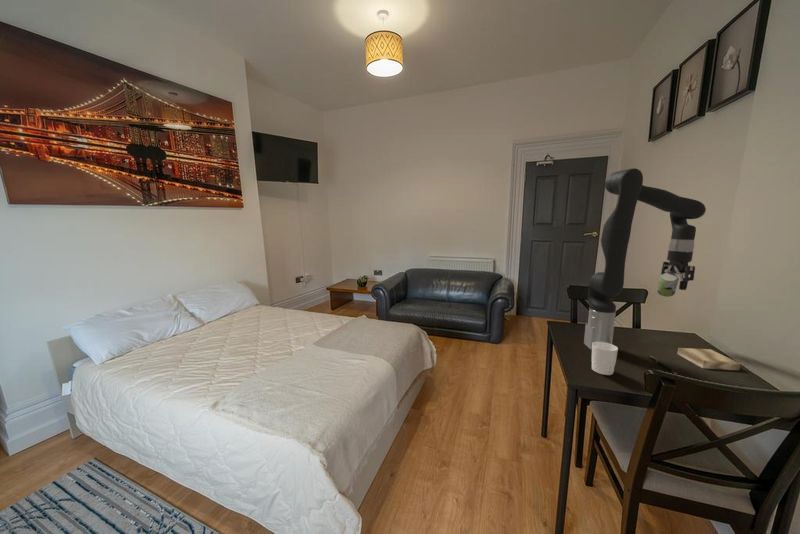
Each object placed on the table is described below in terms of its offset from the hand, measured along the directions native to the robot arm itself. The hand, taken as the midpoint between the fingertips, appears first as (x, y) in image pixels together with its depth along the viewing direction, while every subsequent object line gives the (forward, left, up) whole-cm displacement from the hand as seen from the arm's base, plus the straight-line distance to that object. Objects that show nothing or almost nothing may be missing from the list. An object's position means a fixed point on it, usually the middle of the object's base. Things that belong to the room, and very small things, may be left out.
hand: (674, 287), depth 121 cm
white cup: (-39, -25, -28) cm, 54 cm away
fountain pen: (-14, -18, -28) cm, 36 cm away
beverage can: (+2, +8, -5) cm, 10 cm away
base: (+6, -12, -28) cm, 31 cm away
